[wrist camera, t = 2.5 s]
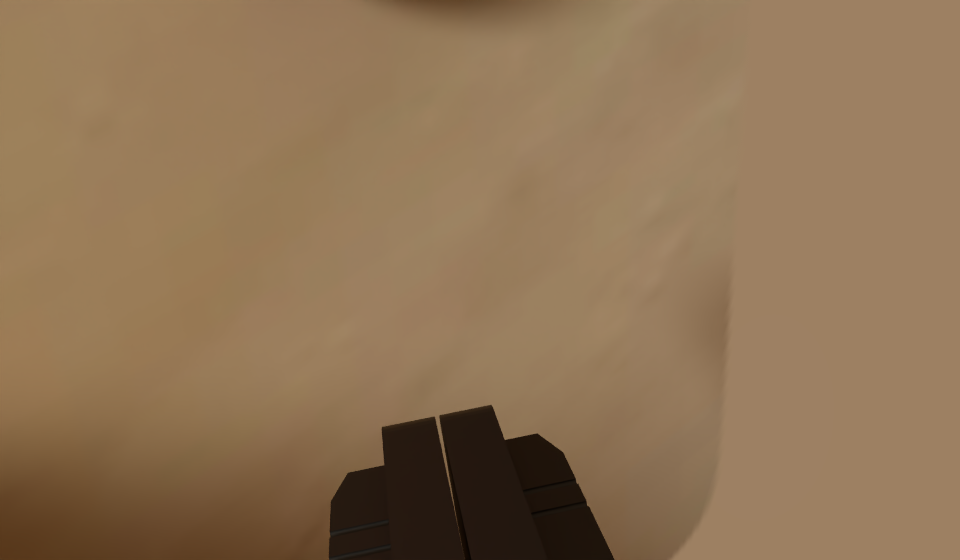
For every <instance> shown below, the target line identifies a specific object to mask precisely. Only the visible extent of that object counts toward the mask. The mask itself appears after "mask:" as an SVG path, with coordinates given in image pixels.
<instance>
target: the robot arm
mask: <svg viewBox="0 0 960 560" xmlns="http://www.w3.org/2000/svg"><path fill="white" fill-rule="evenodd" d="M439 417H440V424H441V430H442V436H443V442H444V447H445V453H446V459H447V465H448V471H449V476H450V482H451V488H452V494H453V500H454V505H455V511H456V516H455V511H454V506H453V501H452V497H451V492H450V487H449V482H448V477H447V473H446V468H445V463H444V458H443V453H442V449H441V444H440V439H439V434H438V429H437V425H436V420H435V417H430V418H425V419H420V420H415V421H410V422H405V423H400V424H395V425H390V426H385V427H382V439H383V452H384V466H379V467H374V468H369V469H364V470H359V471H355V472H350V473H348V474H347V475H346V477H345V479H344V480H343V482H342V484H341V485H340V487H339V489H338V491H337V492H336V494H335V496H334V497H333V499H332V501H331V514H330V536H331V538H330V541H329V560H614V558H613V556H612V553H611V551H610V549H609V547H608V545H607V543H606V541H605V539H604V537H603V535H602V533H601V531H600V528H599V526H598V524H597V522H596V520H595V518H594V516H593V514H592V512H591V510H590V508H589V507H588V506H587V503H586V499H585V497H584V495H583V493H582V491H581V489H580V487H579V485H578V484H577V483H576V478H575V476H574V474H573V472H572V470H571V468H570V466H569V464H568V462H567V460H566V458H565V455H564V453H563V452H562V451H560V450H559V449H558V448H556V447H555V446H554V445H552V444H551V443H550V442H548V441H547V440H545V439H544V438H543V437H541V436H540V435H539V434H533V435H528V436H523V437H518V438H513V439H508V440H504V437H503V434H502V431H501V429H500V426H499V423H498V420H497V418H496V415H495V412H494V409H493V407H492V405H488V406H483V407H478V408H473V409H469V410H464V411H459V412H454V413H449V414H444V415H439ZM456 517H457V521H456ZM457 522H458V525H457ZM458 528H459V530H458ZM459 533H460V535H459ZM460 538H461V540H460ZM461 543H462V545H461ZM462 548H463V549H462ZM463 553H464V554H463ZM464 558H465V559H464Z"/></svg>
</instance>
